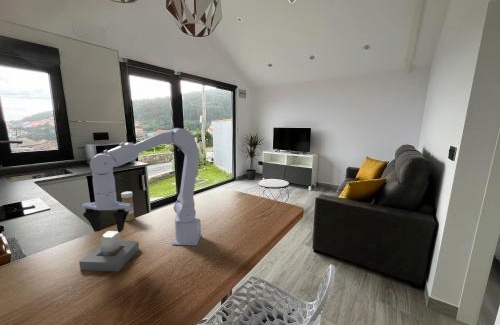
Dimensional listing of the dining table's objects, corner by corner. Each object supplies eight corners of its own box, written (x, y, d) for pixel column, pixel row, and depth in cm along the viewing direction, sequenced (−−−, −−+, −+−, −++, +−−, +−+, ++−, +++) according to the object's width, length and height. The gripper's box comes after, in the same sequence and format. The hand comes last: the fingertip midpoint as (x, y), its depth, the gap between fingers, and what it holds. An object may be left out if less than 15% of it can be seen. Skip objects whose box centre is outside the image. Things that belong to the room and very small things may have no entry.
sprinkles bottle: (135, 220, 100) (132, 193, 97) (123, 222, 97) (121, 194, 95) (134, 216, 104) (131, 190, 101) (123, 218, 101) (120, 191, 99)
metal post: (121, 254, 74) (119, 231, 72) (114, 262, 70) (112, 237, 68) (110, 254, 74) (107, 231, 72) (102, 262, 70) (99, 237, 68)
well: (138, 248, 78) (138, 241, 77) (118, 271, 66) (117, 262, 65) (106, 247, 78) (105, 240, 77) (80, 270, 66) (79, 261, 65)
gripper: (134, 187, 72) (137, 225, 74) (91, 187, 71) (95, 224, 74) (122, 194, 65) (126, 235, 67) (74, 193, 64) (79, 234, 67)
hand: (109, 230), depth 70 cm, fingers open, 7 cm apart
